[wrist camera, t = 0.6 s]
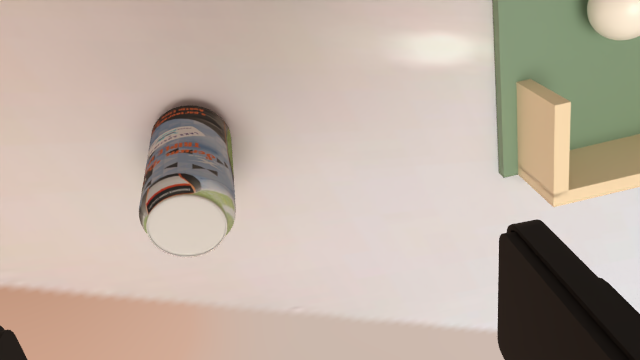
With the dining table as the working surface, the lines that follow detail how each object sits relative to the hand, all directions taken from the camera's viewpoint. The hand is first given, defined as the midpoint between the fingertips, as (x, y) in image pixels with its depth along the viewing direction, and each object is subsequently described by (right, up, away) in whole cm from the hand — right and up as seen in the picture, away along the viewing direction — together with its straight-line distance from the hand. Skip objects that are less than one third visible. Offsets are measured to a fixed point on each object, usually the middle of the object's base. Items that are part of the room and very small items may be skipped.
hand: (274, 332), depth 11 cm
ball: (+23, +16, +30) cm, 41 cm away
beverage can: (-9, +6, +34) cm, 36 cm away
